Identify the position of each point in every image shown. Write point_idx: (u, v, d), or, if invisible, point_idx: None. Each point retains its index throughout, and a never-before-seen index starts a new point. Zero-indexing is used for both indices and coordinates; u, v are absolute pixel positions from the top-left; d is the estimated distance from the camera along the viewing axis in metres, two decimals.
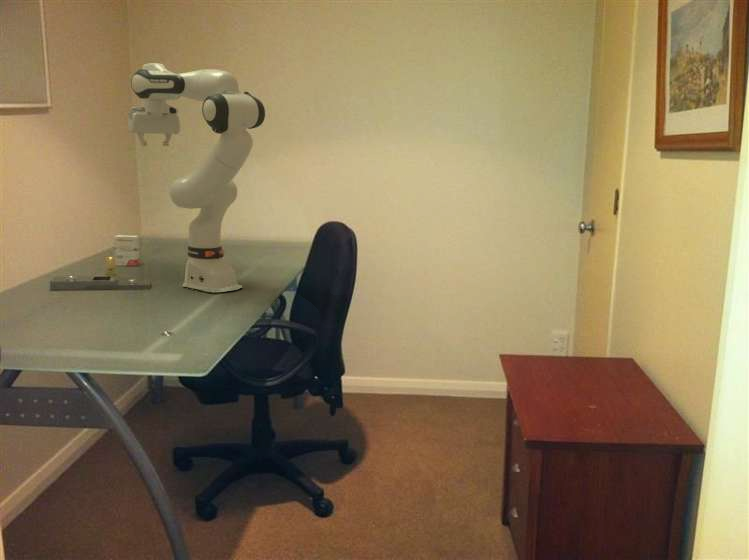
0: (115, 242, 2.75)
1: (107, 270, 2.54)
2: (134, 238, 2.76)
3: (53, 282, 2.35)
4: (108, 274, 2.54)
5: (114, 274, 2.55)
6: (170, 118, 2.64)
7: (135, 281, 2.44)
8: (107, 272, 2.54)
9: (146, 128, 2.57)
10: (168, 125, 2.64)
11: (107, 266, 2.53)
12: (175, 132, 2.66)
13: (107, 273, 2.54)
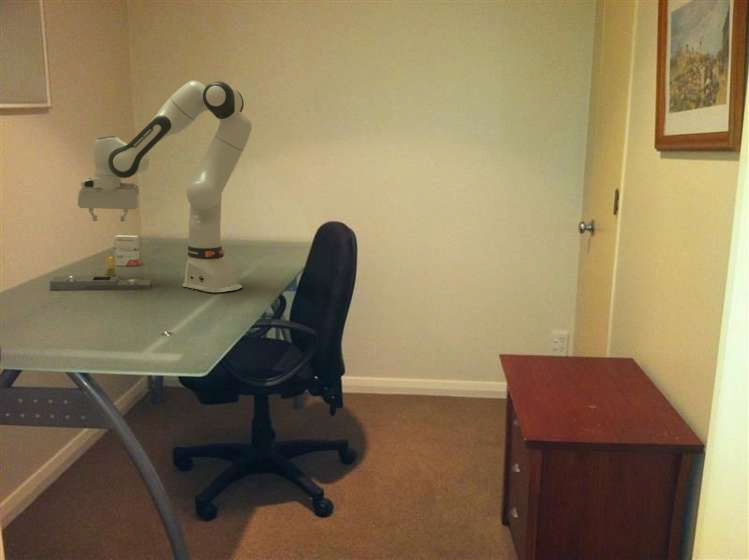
0: (115, 242, 2.75)
1: (107, 270, 2.54)
2: (134, 238, 2.76)
3: (53, 282, 2.35)
4: (108, 274, 2.54)
5: (114, 274, 2.55)
6: None
7: (135, 281, 2.44)
8: (107, 272, 2.54)
9: None
10: None
11: (107, 266, 2.53)
12: None
13: (107, 273, 2.54)
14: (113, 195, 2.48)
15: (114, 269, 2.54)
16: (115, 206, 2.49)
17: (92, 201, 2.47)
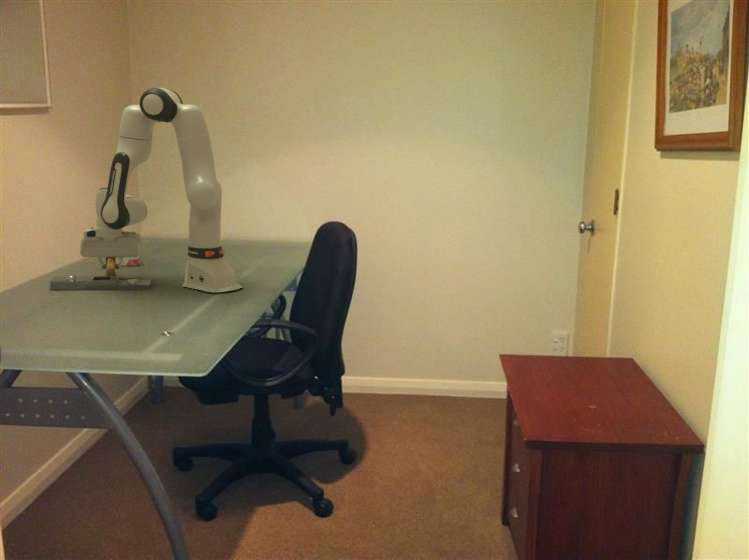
0: None
1: (107, 270, 2.54)
2: None
3: (53, 282, 2.35)
4: (108, 274, 2.54)
5: (114, 274, 2.55)
6: None
7: (135, 281, 2.44)
8: (107, 272, 2.54)
9: None
10: None
11: (107, 266, 2.53)
12: None
13: (107, 273, 2.54)
14: (115, 244, 2.52)
15: (114, 269, 2.54)
16: (117, 254, 2.53)
17: (94, 250, 2.51)
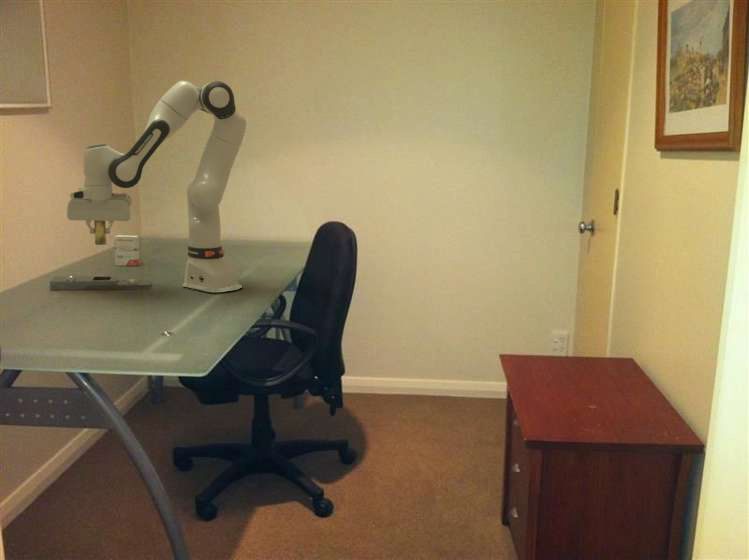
0: (115, 242, 2.75)
1: (96, 235, 2.37)
2: (134, 238, 2.76)
3: (53, 282, 2.35)
4: (97, 239, 2.38)
5: (103, 239, 2.38)
6: None
7: (135, 281, 2.44)
8: (96, 237, 2.38)
9: None
10: None
11: (96, 230, 2.37)
12: None
13: (96, 238, 2.38)
14: (104, 206, 2.36)
15: (103, 234, 2.38)
16: (106, 218, 2.37)
17: (82, 213, 2.34)
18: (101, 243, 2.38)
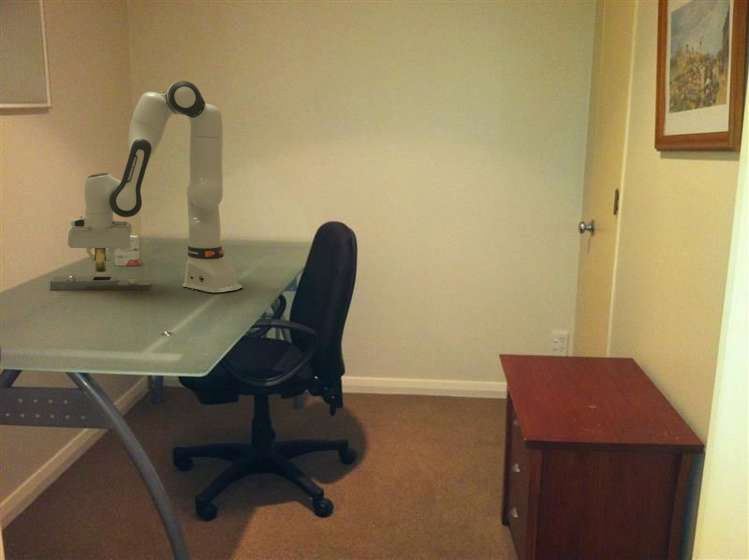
0: None
1: (96, 262, 2.39)
2: (134, 238, 2.76)
3: (53, 282, 2.35)
4: (97, 266, 2.40)
5: (104, 266, 2.40)
6: None
7: (135, 281, 2.44)
8: (96, 264, 2.40)
9: None
10: None
11: (96, 258, 2.39)
12: None
13: (96, 265, 2.40)
14: (105, 234, 2.38)
15: (104, 261, 2.40)
16: (107, 245, 2.39)
17: (82, 241, 2.36)
18: (101, 270, 2.40)
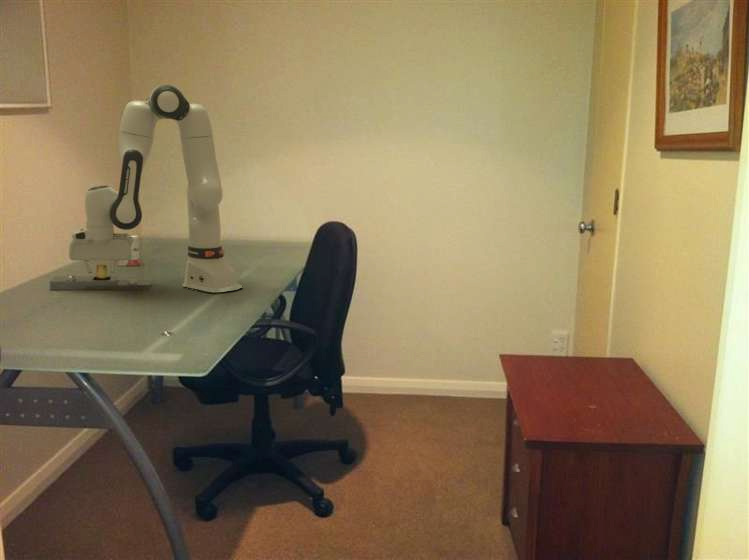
0: None
1: (98, 278, 2.41)
2: (134, 238, 2.76)
3: (53, 282, 2.35)
4: None
5: None
6: None
7: (135, 281, 2.44)
8: None
9: None
10: None
11: (98, 274, 2.40)
12: None
13: None
14: (106, 246, 2.39)
15: (105, 277, 2.41)
16: (108, 258, 2.40)
17: (83, 253, 2.37)
18: None
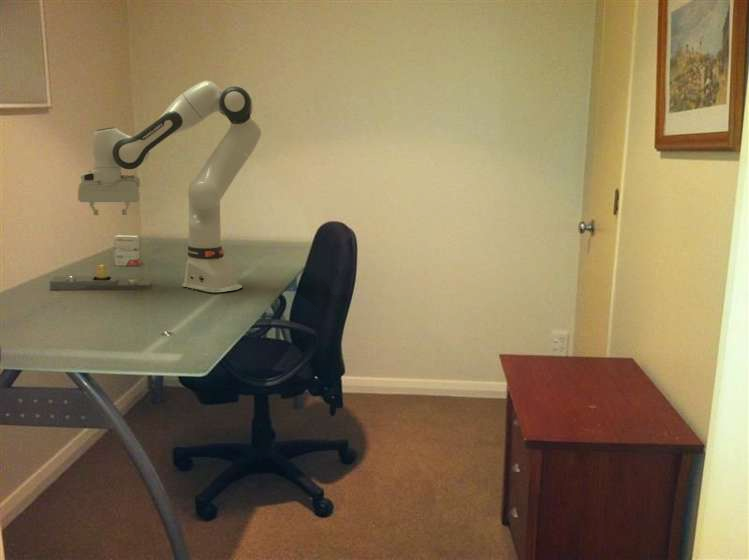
0: (115, 242, 2.75)
1: (98, 278, 2.41)
2: (134, 238, 2.76)
3: (53, 282, 2.35)
4: None
5: None
6: None
7: (135, 281, 2.44)
8: None
9: None
10: None
11: (98, 274, 2.40)
12: None
13: None
14: (114, 188, 2.42)
15: (105, 277, 2.41)
16: (116, 199, 2.43)
17: (92, 195, 2.40)
18: None
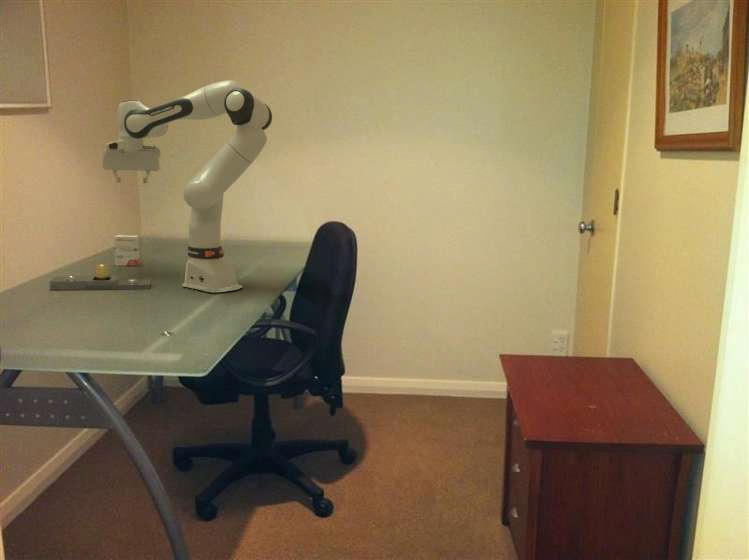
0: (115, 242, 2.75)
1: (98, 278, 2.41)
2: (134, 238, 2.76)
3: (53, 282, 2.35)
4: None
5: None
6: None
7: (135, 281, 2.44)
8: None
9: None
10: None
11: (98, 274, 2.40)
12: None
13: None
14: (136, 157, 2.59)
15: (105, 277, 2.41)
16: (138, 168, 2.60)
17: (116, 163, 2.57)
18: None
